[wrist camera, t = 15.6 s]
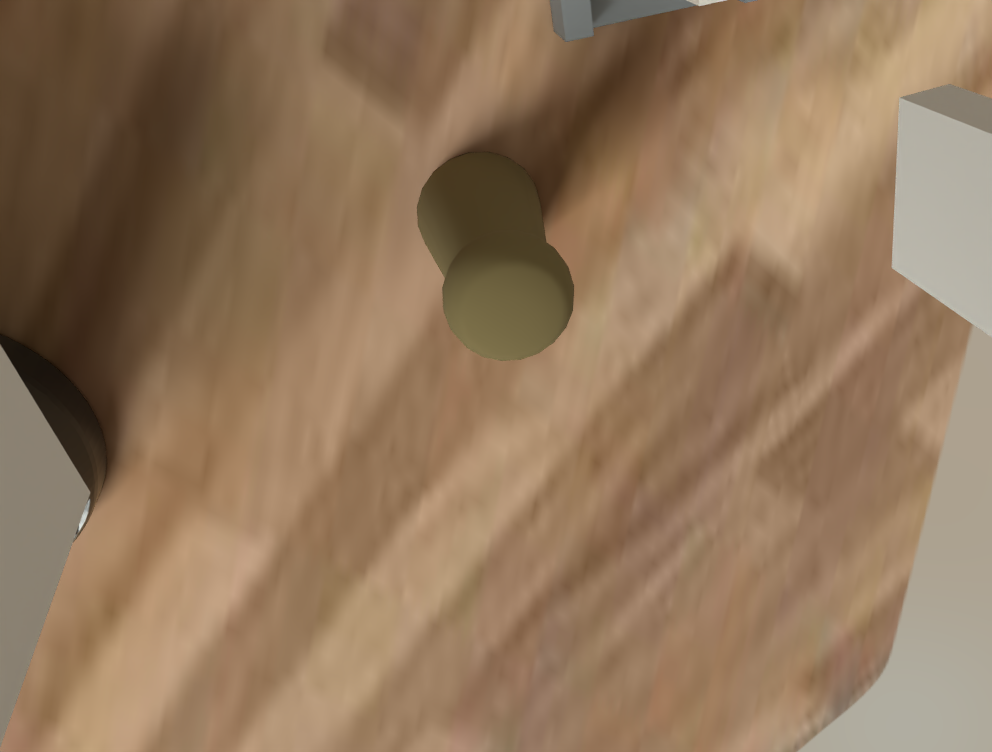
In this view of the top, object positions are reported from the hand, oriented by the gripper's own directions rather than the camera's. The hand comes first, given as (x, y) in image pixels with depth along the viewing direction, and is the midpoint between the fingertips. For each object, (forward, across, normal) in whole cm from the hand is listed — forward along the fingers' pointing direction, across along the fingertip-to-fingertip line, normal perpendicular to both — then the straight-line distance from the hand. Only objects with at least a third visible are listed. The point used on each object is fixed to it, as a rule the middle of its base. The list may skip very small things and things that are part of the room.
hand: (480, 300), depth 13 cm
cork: (+28, +3, -10) cm, 30 cm away
